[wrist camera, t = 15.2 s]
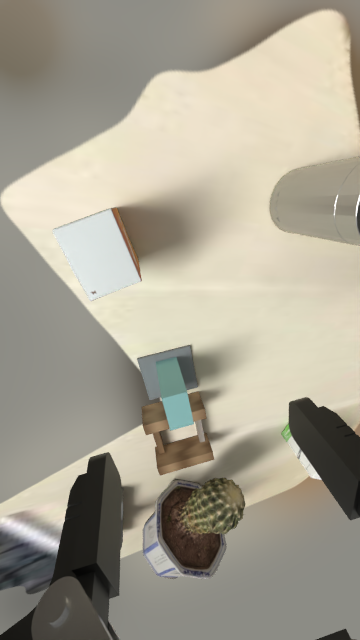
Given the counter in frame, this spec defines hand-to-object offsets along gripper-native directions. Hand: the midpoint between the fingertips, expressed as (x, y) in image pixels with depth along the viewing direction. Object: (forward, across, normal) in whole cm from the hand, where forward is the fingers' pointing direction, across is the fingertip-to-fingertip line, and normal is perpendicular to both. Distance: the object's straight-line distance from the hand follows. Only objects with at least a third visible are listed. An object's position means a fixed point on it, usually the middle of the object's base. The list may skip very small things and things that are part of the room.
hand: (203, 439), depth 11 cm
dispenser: (+33, +2, +35) cm, 48 cm away
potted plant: (+33, +3, +55) cm, 64 cm away
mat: (+33, +1, +21) cm, 39 cm away
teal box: (+33, +1, +21) cm, 39 cm away
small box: (+33, +5, -5) cm, 34 cm away
